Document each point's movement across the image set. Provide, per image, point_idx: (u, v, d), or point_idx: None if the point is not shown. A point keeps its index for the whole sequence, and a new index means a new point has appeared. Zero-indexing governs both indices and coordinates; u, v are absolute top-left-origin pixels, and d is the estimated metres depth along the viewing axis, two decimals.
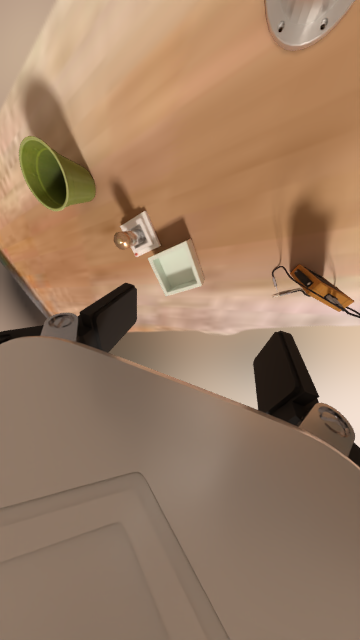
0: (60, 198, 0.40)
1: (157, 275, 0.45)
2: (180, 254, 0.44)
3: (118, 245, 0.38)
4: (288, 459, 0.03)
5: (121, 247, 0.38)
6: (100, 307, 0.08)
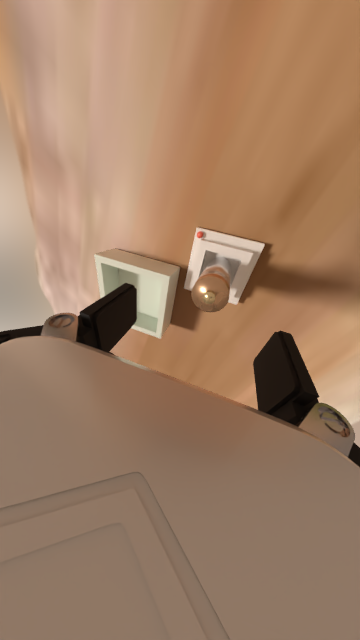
0: None
1: (135, 269, 0.22)
2: (157, 305, 0.29)
3: (207, 283, 0.15)
4: (288, 459, 0.03)
5: (199, 286, 0.15)
6: (100, 307, 0.08)
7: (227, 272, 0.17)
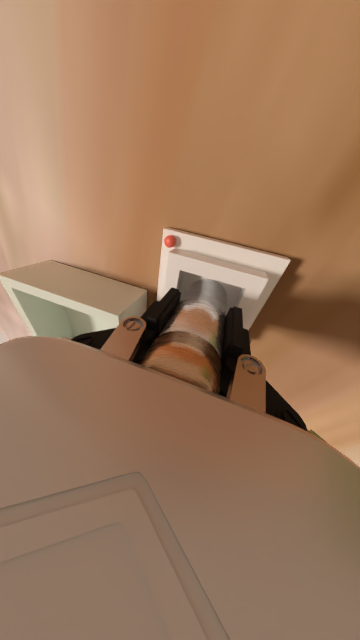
0: None
1: (63, 301, 0.13)
2: None
3: None
4: (288, 459, 0.03)
5: None
6: (161, 311, 0.08)
7: (217, 325, 0.08)
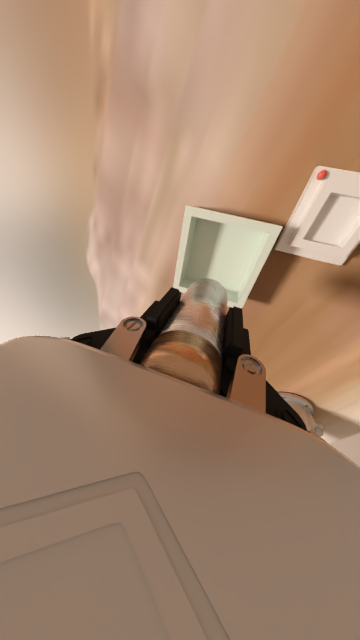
0: None
1: (236, 221, 0.19)
2: (234, 274, 0.26)
3: None
4: (288, 459, 0.03)
5: None
6: (161, 311, 0.08)
7: (217, 324, 0.08)
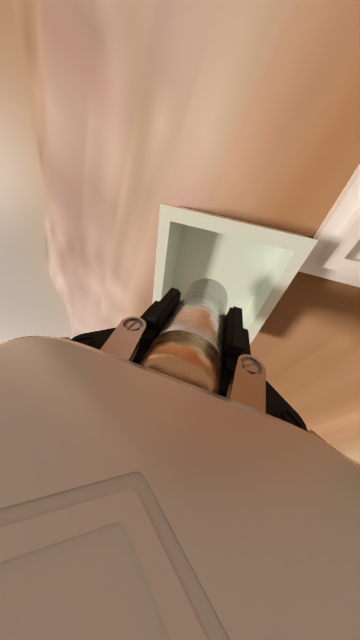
0: None
1: (241, 230, 0.12)
2: (235, 300, 0.19)
3: None
4: (288, 459, 0.03)
5: None
6: (161, 311, 0.08)
7: (217, 324, 0.08)
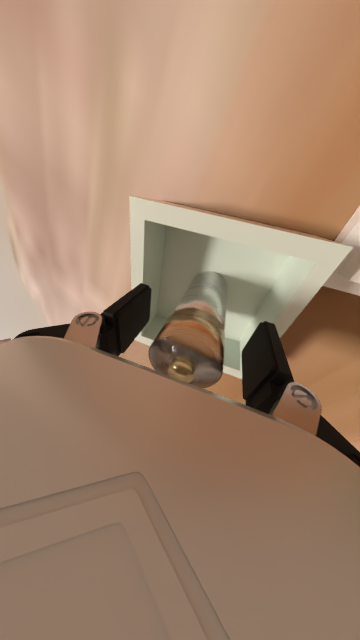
0: None
1: (241, 233, 0.08)
2: (234, 315, 0.16)
3: (177, 344, 0.07)
4: (288, 459, 0.03)
5: (161, 347, 0.07)
6: (121, 307, 0.08)
7: (220, 306, 0.10)
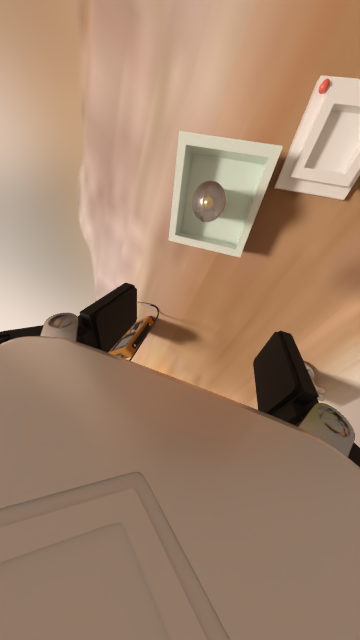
0: None
1: (234, 145, 0.18)
2: (232, 221, 0.25)
3: (206, 187, 0.17)
4: (288, 459, 0.03)
5: (199, 192, 0.17)
6: (100, 307, 0.08)
7: None
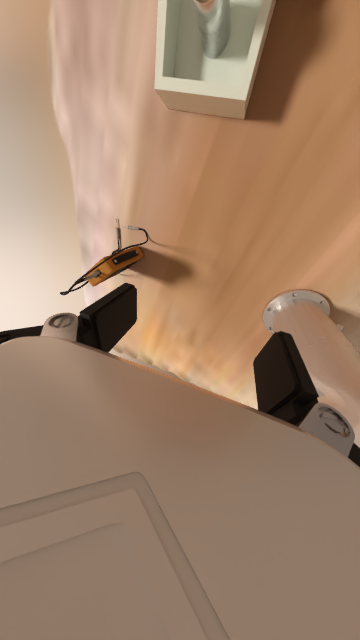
0: None
1: None
2: (236, 63, 0.20)
3: None
4: (288, 459, 0.03)
5: None
6: (100, 307, 0.08)
7: None
